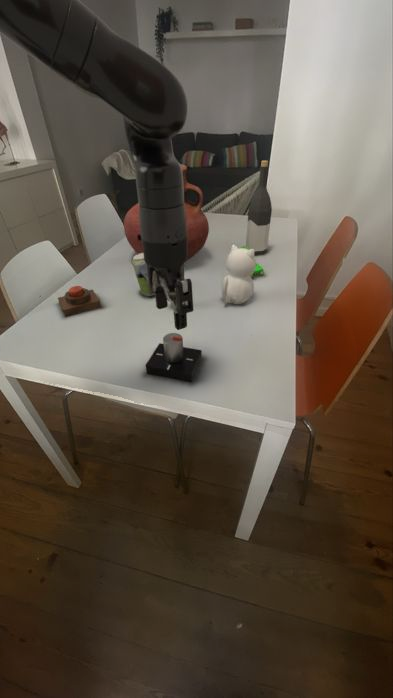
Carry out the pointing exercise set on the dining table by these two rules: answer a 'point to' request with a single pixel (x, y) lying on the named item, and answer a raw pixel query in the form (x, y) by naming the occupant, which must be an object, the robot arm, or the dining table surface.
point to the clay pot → (194, 216)
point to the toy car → (258, 268)
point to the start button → (76, 291)
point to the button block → (79, 302)
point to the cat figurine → (239, 276)
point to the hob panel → (174, 364)
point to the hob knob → (173, 347)
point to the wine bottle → (259, 215)
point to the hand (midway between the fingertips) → (171, 317)
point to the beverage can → (142, 274)
